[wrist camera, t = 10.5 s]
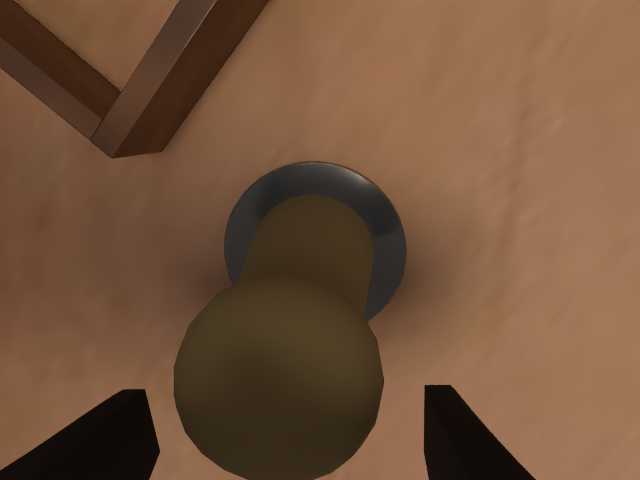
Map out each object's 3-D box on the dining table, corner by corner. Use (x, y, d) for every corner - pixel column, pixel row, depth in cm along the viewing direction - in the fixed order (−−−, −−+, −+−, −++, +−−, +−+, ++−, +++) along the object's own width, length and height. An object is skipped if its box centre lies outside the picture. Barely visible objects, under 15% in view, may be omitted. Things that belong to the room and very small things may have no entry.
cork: (294, 168, 17) (211, 235, 7) (399, 240, 18) (474, 403, 7) (230, 268, 19) (84, 445, 8) (328, 331, 20) (307, 568, 9)
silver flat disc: (238, 332, 21) (236, 337, 20) (214, 167, 18) (211, 168, 18) (405, 329, 20) (406, 334, 19) (405, 155, 17) (406, 156, 17)
